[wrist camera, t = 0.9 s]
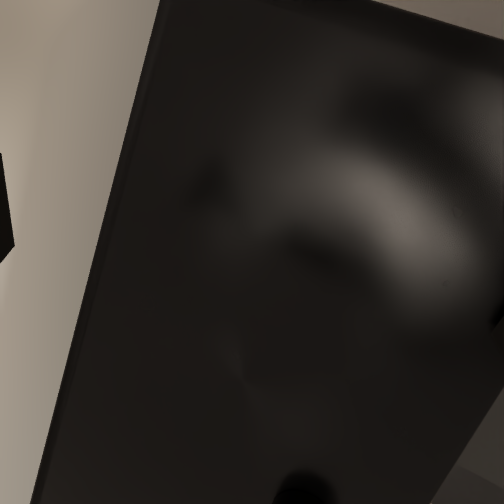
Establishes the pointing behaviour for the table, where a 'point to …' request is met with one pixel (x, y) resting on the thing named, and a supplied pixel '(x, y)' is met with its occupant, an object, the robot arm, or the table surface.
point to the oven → (295, 268)
